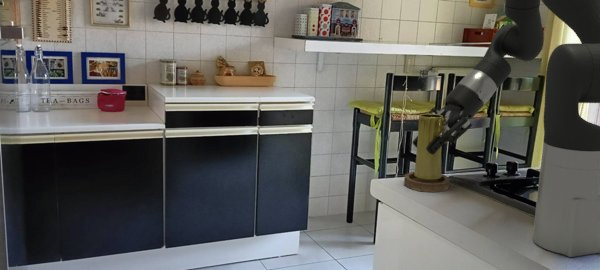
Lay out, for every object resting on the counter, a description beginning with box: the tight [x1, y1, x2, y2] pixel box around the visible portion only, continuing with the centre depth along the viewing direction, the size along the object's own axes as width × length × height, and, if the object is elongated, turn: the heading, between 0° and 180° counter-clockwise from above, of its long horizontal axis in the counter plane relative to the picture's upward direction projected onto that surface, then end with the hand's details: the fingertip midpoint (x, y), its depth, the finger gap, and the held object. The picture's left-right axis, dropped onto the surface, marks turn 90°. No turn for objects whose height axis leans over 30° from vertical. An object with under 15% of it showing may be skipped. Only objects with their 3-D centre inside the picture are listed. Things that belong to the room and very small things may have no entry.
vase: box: [414, 113, 443, 180], centre depth 113 cm, size 6×6×14 cm
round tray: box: [403, 171, 451, 193], centre depth 115 cm, size 10×10×2 cm
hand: (422, 148), depth 113 cm, fingers closed on vase, 5 cm apart
